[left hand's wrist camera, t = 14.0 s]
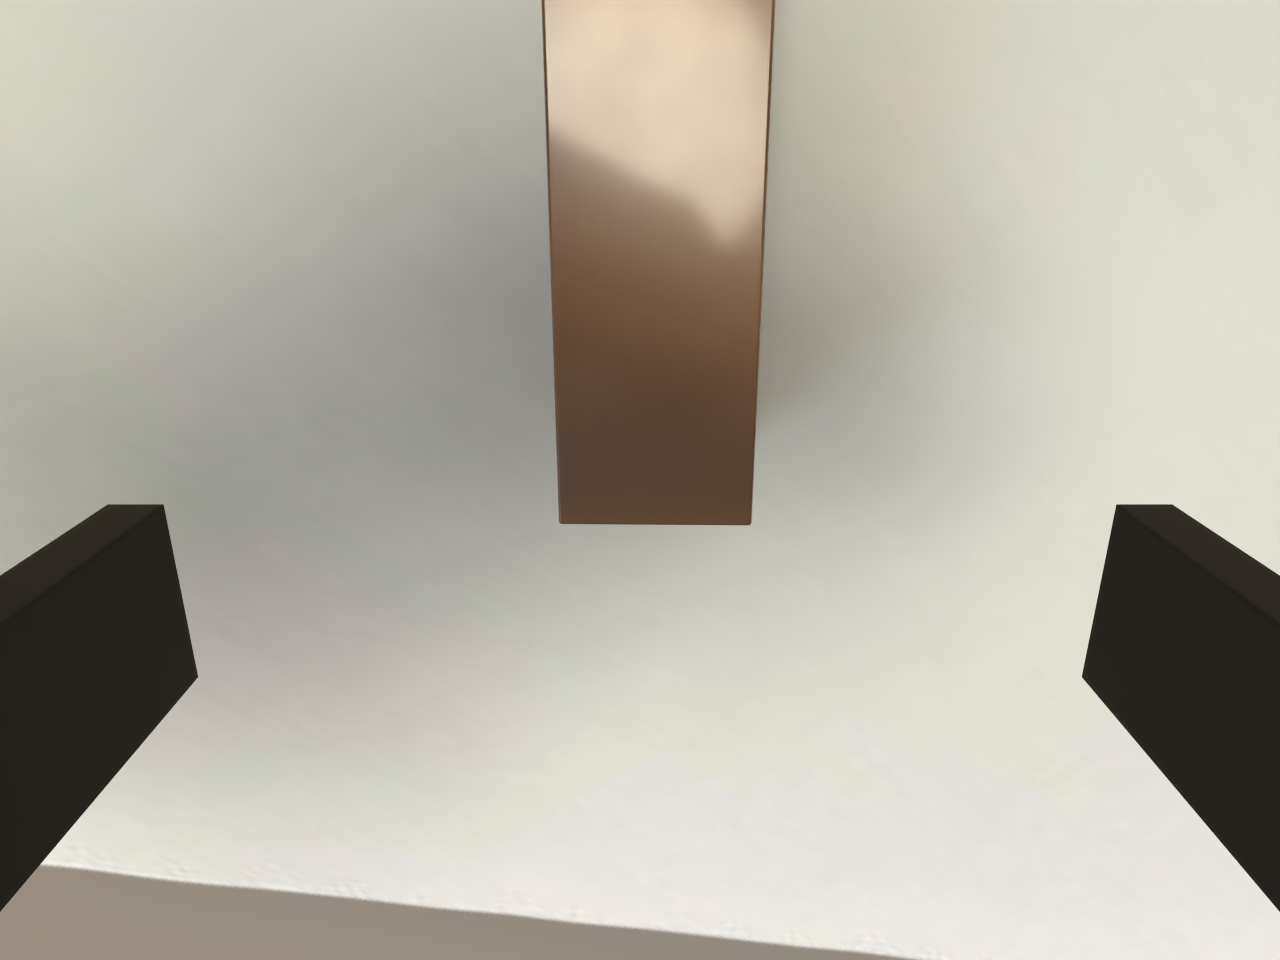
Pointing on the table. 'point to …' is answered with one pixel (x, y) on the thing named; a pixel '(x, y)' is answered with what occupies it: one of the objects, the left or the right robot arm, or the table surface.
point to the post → (656, 253)
